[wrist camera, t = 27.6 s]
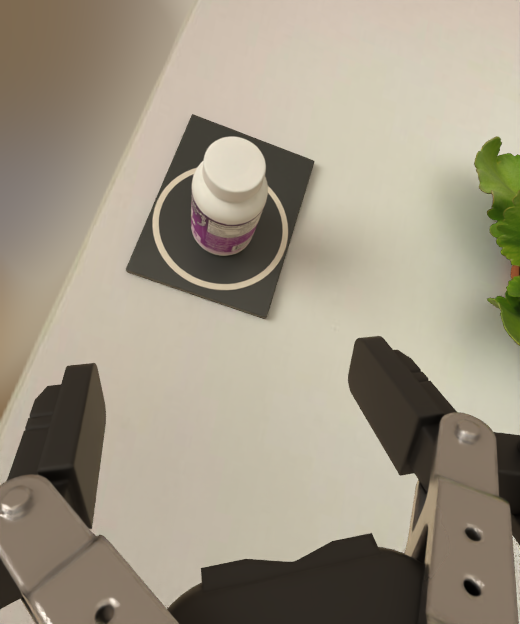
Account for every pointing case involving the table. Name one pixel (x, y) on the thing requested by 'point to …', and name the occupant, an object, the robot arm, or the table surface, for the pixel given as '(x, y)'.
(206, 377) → the table surface
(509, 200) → the potted flower
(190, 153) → the slate board
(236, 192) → the pill bottle
